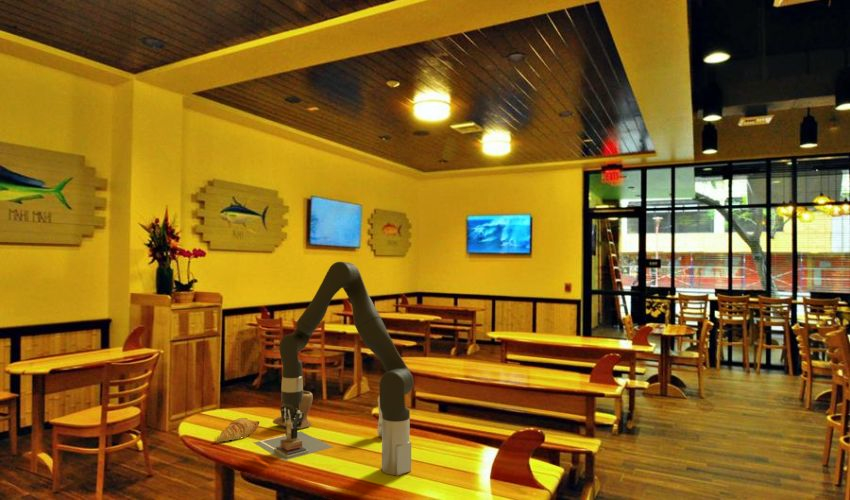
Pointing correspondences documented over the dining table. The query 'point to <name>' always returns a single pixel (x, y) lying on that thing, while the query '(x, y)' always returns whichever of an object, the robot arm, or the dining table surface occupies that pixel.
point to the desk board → (307, 447)
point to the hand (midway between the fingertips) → (291, 436)
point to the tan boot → (304, 408)
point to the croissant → (238, 429)
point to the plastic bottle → (379, 419)
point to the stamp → (289, 442)
